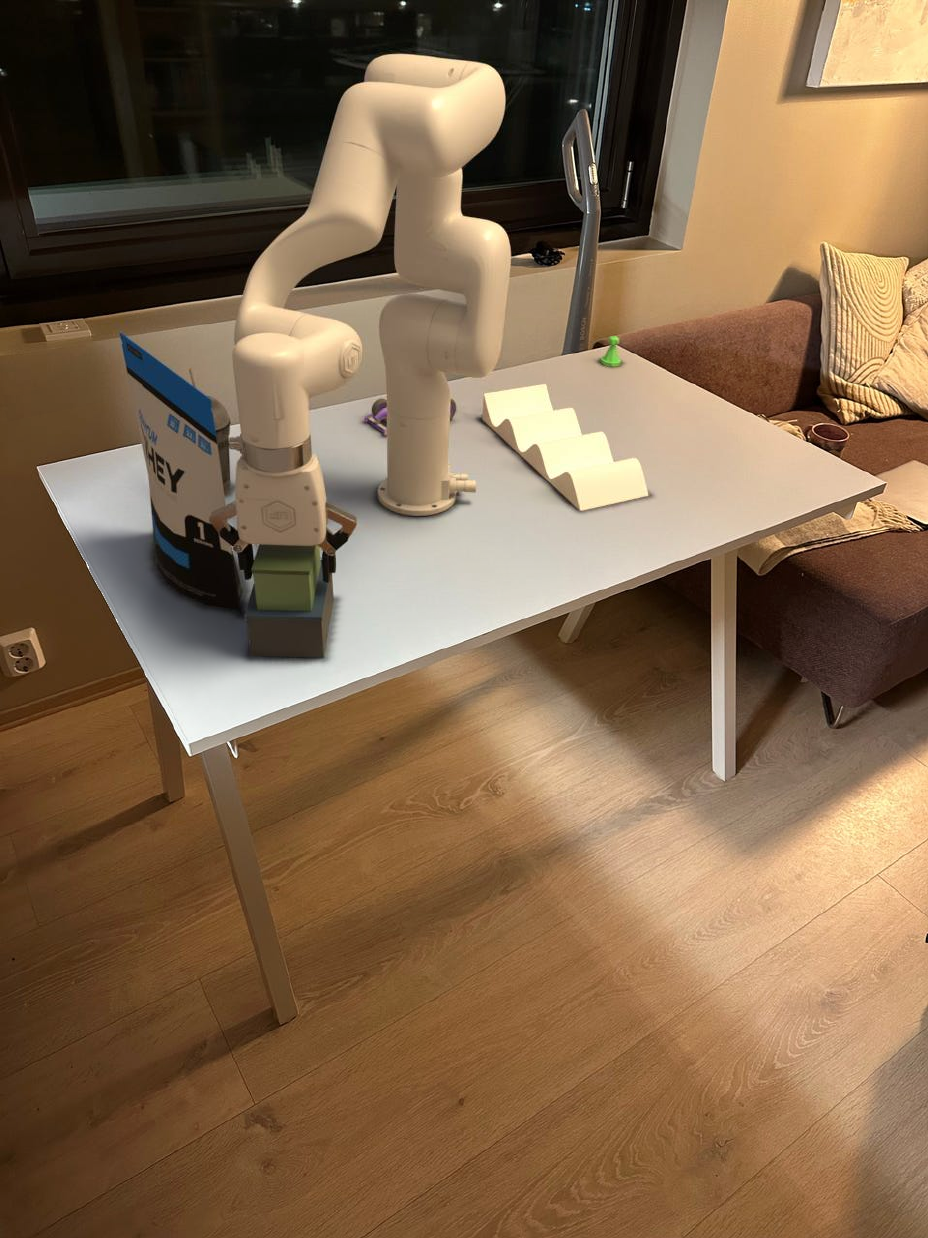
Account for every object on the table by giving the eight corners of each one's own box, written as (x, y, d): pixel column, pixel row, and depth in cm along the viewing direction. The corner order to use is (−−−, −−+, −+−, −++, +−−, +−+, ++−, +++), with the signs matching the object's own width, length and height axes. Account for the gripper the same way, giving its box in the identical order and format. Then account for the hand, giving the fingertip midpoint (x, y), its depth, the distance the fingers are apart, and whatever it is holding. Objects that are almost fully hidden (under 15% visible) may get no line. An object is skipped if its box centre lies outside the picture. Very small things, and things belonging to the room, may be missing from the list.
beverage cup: (228, 504, 136) (210, 381, 124) (184, 497, 137) (162, 375, 125) (246, 481, 142) (231, 362, 130) (204, 475, 143) (185, 356, 130)
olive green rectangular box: (269, 562, 113) (265, 522, 110) (321, 563, 114) (319, 524, 110) (256, 610, 105) (251, 569, 102) (312, 611, 106) (309, 571, 102)
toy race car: (360, 419, 162) (359, 386, 158) (426, 401, 169) (427, 369, 165) (388, 439, 156) (388, 405, 152) (456, 420, 163) (457, 387, 159)
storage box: (265, 597, 118) (261, 557, 114) (334, 599, 119) (332, 559, 115) (249, 656, 109) (244, 615, 105) (324, 658, 109) (321, 617, 105)
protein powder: (189, 522, 132) (154, 324, 113) (272, 601, 118) (249, 389, 99) (128, 542, 127) (81, 339, 108) (207, 627, 113) (170, 409, 94)
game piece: (624, 363, 189) (629, 335, 185) (612, 368, 186) (616, 340, 183) (608, 357, 191) (613, 330, 188) (596, 362, 189) (600, 334, 185)
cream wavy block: (580, 511, 140) (584, 482, 137) (482, 419, 164) (483, 393, 161) (648, 495, 145) (653, 468, 141) (543, 409, 169) (545, 383, 166)
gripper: (191, 462, 95) (211, 590, 105) (352, 468, 95) (356, 595, 106) (206, 431, 100) (224, 555, 111) (358, 436, 101) (361, 560, 112)
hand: (288, 574), depth 108 cm, fingers open, 9 cm apart
